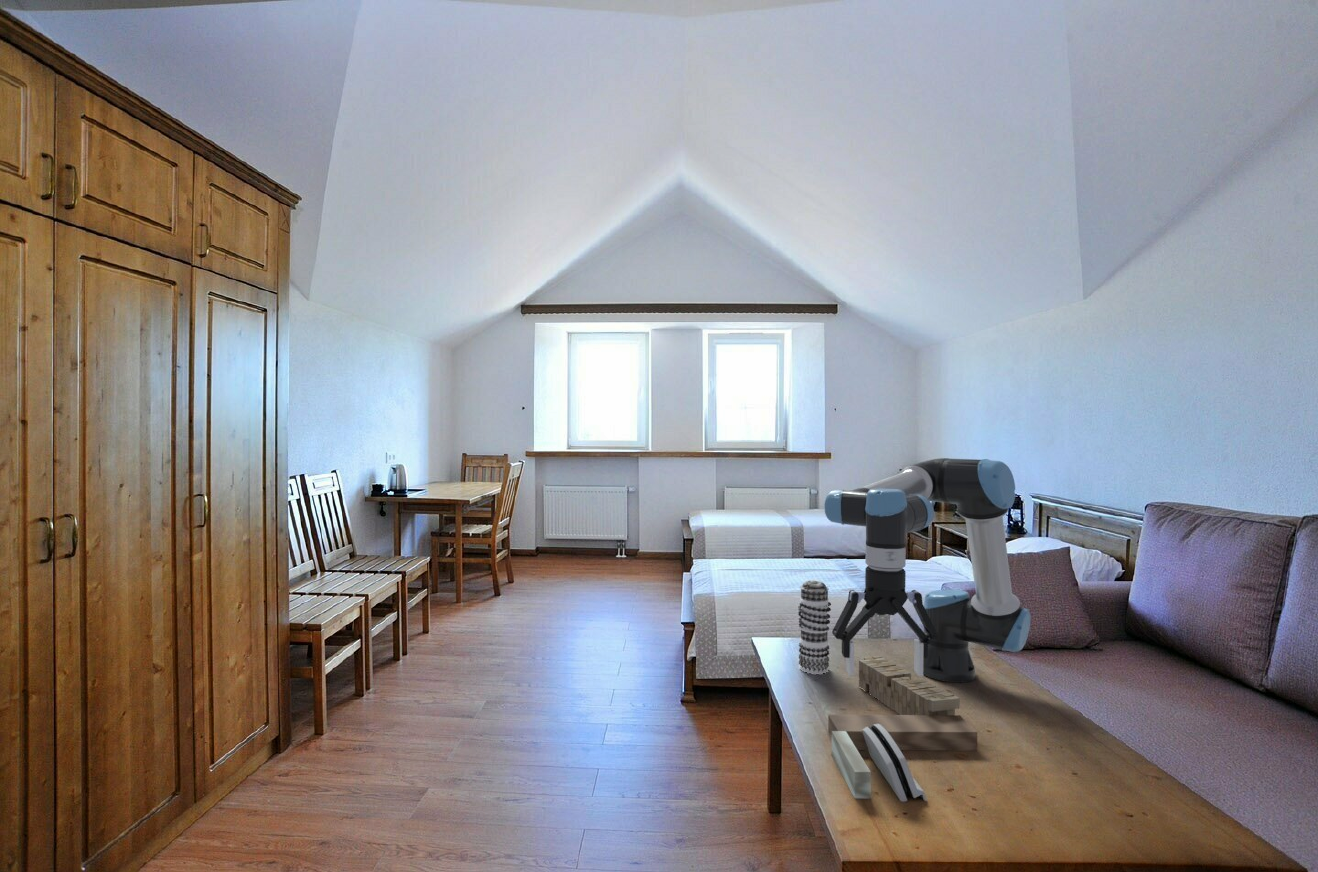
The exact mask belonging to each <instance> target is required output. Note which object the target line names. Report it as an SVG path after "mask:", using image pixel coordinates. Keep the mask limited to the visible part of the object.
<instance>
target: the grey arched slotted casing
mask: <svg viewBox="0 0 1318 872" xmlns="http://www.w3.org/2000/svg"><path fill="white" fill-rule="evenodd" d="M871 728H872V729H871ZM871 728H870V727H869V728H868V727H866V728H864V729H863V730H862V732H863V735H864V738H865V741H866V744H867V747H868V750H867V751H868V753H869V756H870V758H871V760H872V761H873V762H874V764H875V765H876V767H877V768H878V770H879V771H880V773H881V774H882V775H883V777H884V778H885V780H886V782H887V783H888V785H889V786H890V788H891V789H892V790H893V792H894V794H895V795H896V796H897V798H898V799H899V801H900V802H904V803H905V802H908V798H909V796H910V797H911V798H912V797H913V798H912V799H916V798H917V797H921V799H923V801H924V802H927V801H928V800H927V796H926V793H925V791H924V790H923V788H922V787H921V785H919V783H918V782H917V781H916V779H915V778H914V776H913V775H912V772H911V770H910V767H909V764H908V761H907V760H906V757H905V756H904V754H903V752H902V750H900V749H899V748H898V746H897V744H896V743H895V742H894V740H893V739H892V737H891V736H890V734H889V733H888V732H887V731H886V730H885V729H884V728H883V727H882V726H881V725H880V724H873V726H872V727H871ZM908 795H909V796H908Z"/></svg>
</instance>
